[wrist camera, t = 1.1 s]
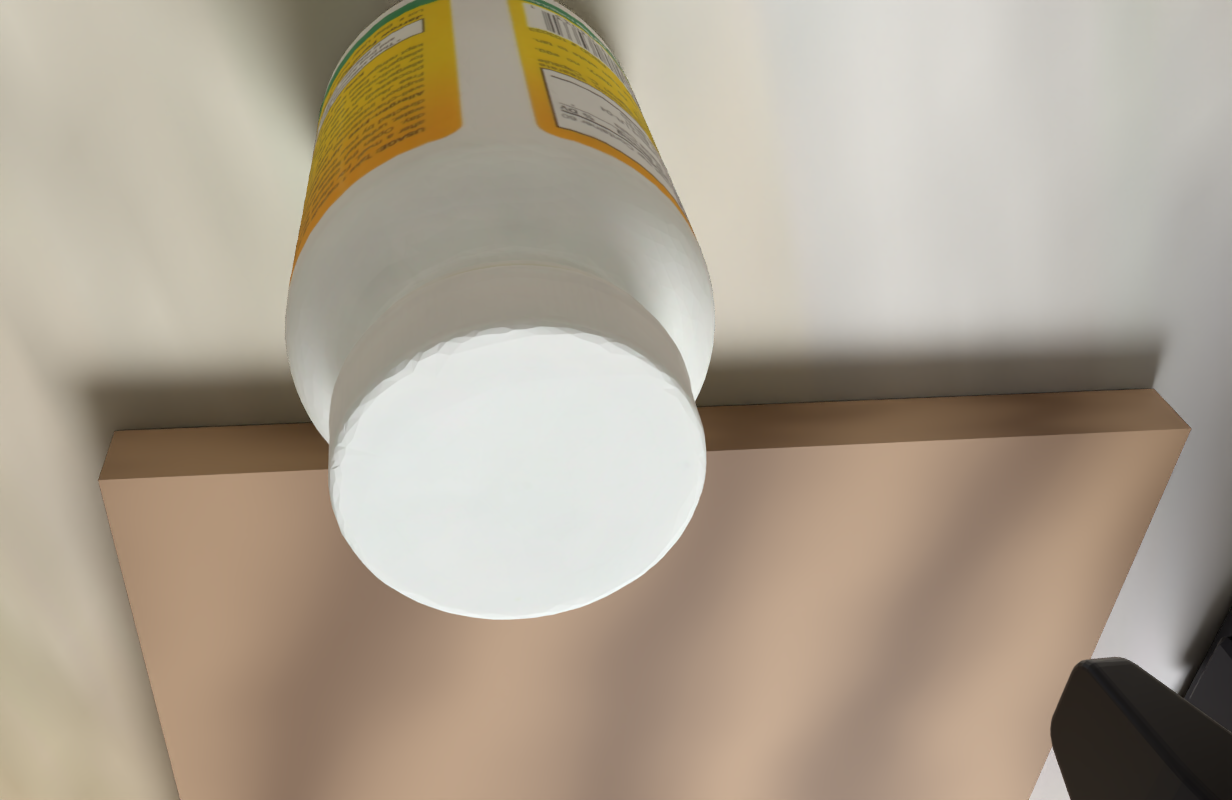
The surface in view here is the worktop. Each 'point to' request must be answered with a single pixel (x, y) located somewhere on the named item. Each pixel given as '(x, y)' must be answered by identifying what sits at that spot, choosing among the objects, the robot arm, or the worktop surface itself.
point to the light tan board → (657, 614)
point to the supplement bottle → (498, 312)
